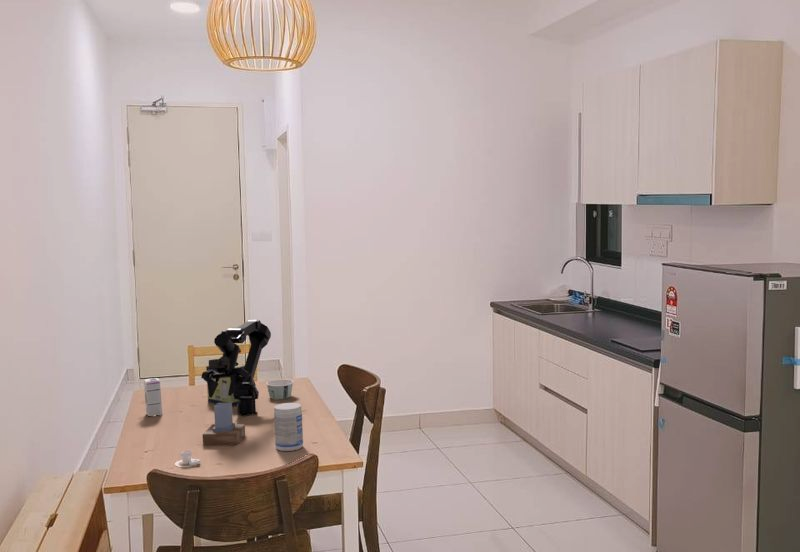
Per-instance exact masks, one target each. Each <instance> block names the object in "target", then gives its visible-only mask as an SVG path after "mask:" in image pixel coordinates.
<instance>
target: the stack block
mask: <svg viewBox="0 0 800 552" xmlns="http://www.w3.org/2000/svg"><path fill="white" fill-rule="evenodd" d="M214 427H215V423H214V424H213V423H212V424H211V425H210V426H209V427H208V428H207V429H206V430H205V431H204V432H203V433H202V446H238V444H239V443H240V442H241V441H242V440H243V438H244V437H245V436H246V424H245V423H235V427H234V428H233V430H232V431H231V432H213V428H214Z"/></svg>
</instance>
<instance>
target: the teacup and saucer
mask: <svg viewBox="0 0 800 552" xmlns="http://www.w3.org/2000/svg"><path fill="white" fill-rule="evenodd" d="M180 457H181V459H180V460H177V461H176V462H175V463H174V466H175V467H178V468H189V467H194V466H198V465H200V464H201V459H199V458H198V459H197V458H192V450H184V451H181V452H180ZM180 463H183V464H184V465H181V464H180ZM179 464H180V465H179Z"/></svg>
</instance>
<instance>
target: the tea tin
mask: <svg viewBox="0 0 800 552" xmlns="http://www.w3.org/2000/svg"><path fill="white" fill-rule="evenodd" d="M213 408H214V412H213V413H214V424H215V427H214V428H213V432H231V431H232V430H233V428H234V427H235V424H236V422H234V421H233V420H234V419H233V406H232V403H215V405H214V406H213Z"/></svg>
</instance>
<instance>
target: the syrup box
mask: <svg viewBox="0 0 800 552" xmlns="http://www.w3.org/2000/svg"><path fill="white" fill-rule="evenodd" d="M143 382H144V383H143V386H144V400H145V401H144V402H145V413H147V414H146V416H147V415H148V416H153V417H155V416H154V415H160V416H163V407H162V406H163V405H162V404H163V403H162V390H161V381H160V379H159V378H158V377H150V378H145V379H143ZM148 416H147V417H148Z"/></svg>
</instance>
